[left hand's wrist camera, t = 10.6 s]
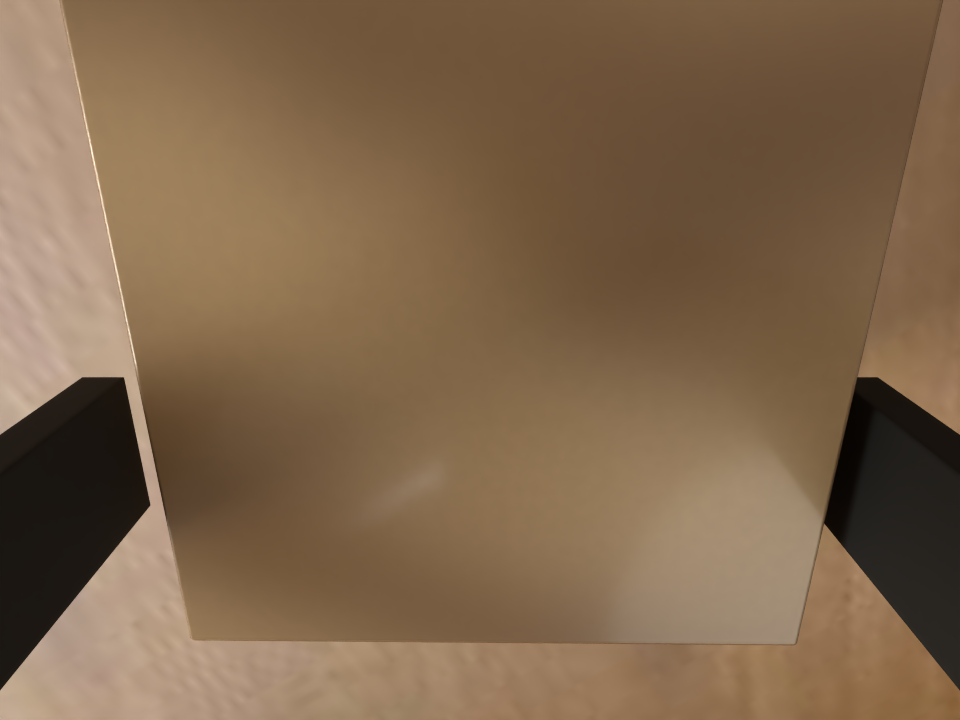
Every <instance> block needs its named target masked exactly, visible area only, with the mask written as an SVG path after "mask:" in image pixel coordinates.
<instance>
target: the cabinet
mask: <svg viewBox="0 0 960 720" xmlns="http://www.w3.org/2000/svg"><path fill="white" fill-rule="evenodd" d="M59 1H60V6H61V11H62V15H63V20H64V25H65V30H66V35H67V40H68V45H69V49H70V54H71V59H72V64H73V69H74V74H75V79H76V83H77V88H78V93H79V98H80V103H81V108H82V113H83V117H84V122H85V127H86V132H87V137H88V142H89V147H90V151H91V156H92V161H93V166H94V171H95V176H96V181H97V185H98V190H99V195H100V200H101V205H102V210H103V215H104V220H105V224H106V229H107V234H108V239H109V244H110V249H111V254H112V258H113V263H114V268H115V273H116V278H117V283H118V288H119V292H120V297H121V302H122V307H123V312H124V317H125V322H126V326H127V331H128V336H129V341H130V346H131V351H132V356H133V360H134V365H135V370H136V375H137V380H138V385H139V390H140V394H141V399H142V404H143V409H144V414H145V419H146V424H147V428H148V433H149V438H150V443H151V448H152V453H153V458H154V462H155V467H156V472H157V477H158V482H159V487H160V492H161V496H162V501H163V506H164V511H165V516H166V521H167V526H168V530H169V535H170V540H171V545H172V550H173V555H174V560H175V565H176V569H177V574H178V579H179V584H180V589H181V594H182V599H183V603H184V608H185V613H186V618H187V623H188V628H189V633H190V637H191V639H192V640H225V641H345V642H465V643H586V644H706V645H795V644H796V643H797V640H798V636H799V631H800V627H801V622H802V618H803V614H804V609H805V605H806V600H807V596H808V592H809V587H810V583H811V578H812V574H813V570H814V565H815V561H816V556H817V552H818V548H819V543H820V539H821V534H822V530H823V526H824V521H825V517H826V512H827V508H828V504H829V499H830V495H831V490H832V486H833V482H834V477H835V473H836V468H837V464H838V460H839V455H840V451H841V446H842V442H843V438H844V433H845V429H846V425H847V420H848V416H849V411H850V407H851V403H852V398H853V394H854V389H855V385H856V381H857V376H858V372H859V367H860V363H861V359H862V354H863V350H864V345H865V341H866V337H867V332H868V328H869V323H870V319H871V315H872V310H873V306H874V301H875V297H876V293H877V288H878V284H879V279H880V275H881V271H882V266H883V262H884V257H885V253H886V249H887V244H888V240H889V235H890V231H891V227H892V222H893V218H894V214H895V209H896V205H897V200H898V196H899V192H900V187H901V183H902V178H903V174H904V170H905V165H906V161H907V156H908V152H909V148H910V143H911V139H912V134H913V130H914V126H915V121H916V117H917V112H918V108H919V104H920V99H921V95H922V90H923V86H924V82H925V77H926V73H927V68H928V64H929V60H930V55H931V51H932V46H933V42H934V38H935V33H936V29H937V24H938V20H939V16H940V11H941V7H942V2H943V0H59Z"/></svg>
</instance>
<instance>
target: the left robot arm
mask: <svg viewBox="0 0 960 720" xmlns="http://www.w3.org/2000/svg"><path fill="white" fill-rule="evenodd" d="M149 506H150V501H149V496H148V491H147V486H146V482H145V477H144V472H143V467H142V462H141V457H140V453H139V448H138V443H137V438H136V433H135V428H134V424H133V419H132V414H131V409H130V404H129V399H128V395H127V390H126V385H125V380H124V377H82V378H81V379H79V380H78V381H77V382H75V383H74V384H72V385H71V386H69V387H68V388H67V389H65V390H64V391H62V392H61V393H59V394H58V395H57V396H55V397H54V398H52V399H51V400H49V401H48V402H47V403H45V404H44V405H42V406H41V407H39V408H38V409H36V410H35V411H34V412H32V413H31V414H29V415H28V416H26V417H25V418H24V419H22V420H21V421H19V422H18V423H16V424H15V425H14V426H12V427H11V428H9V429H8V430H6V431H5V432H4V433H2V434H1V435H0V690H1V689H2V687H3V686H4V685H5V684H6V682H7V681H8V680H9V679H10V678H11V676H12V675H13V674H14V673H15V671H16V670H17V669H18V668H19V666H20V665H21V664H22V663H23V662H24V660H25V659H26V658H27V657H28V655H29V654H30V653H31V652H32V650H33V649H34V648H35V647H36V646H37V644H38V643H39V642H40V641H41V639H42V638H43V637H44V636H45V634H46V633H47V632H48V631H49V630H50V628H51V627H52V626H53V625H54V623H55V622H56V621H57V620H58V618H59V617H60V616H61V615H62V614H63V612H64V611H65V610H66V609H67V607H68V606H69V605H70V604H71V602H72V601H73V600H74V599H75V598H76V596H77V595H78V594H79V593H80V591H81V590H82V589H83V588H84V586H85V585H86V584H87V583H88V581H89V580H90V579H91V578H92V577H93V575H94V574H95V573H96V572H97V570H98V569H99V568H100V567H101V565H102V564H103V563H104V562H105V561H106V559H107V558H108V557H109V556H110V554H111V553H112V552H113V551H114V549H115V548H116V547H117V546H118V545H119V543H120V542H121V541H122V540H123V538H124V537H125V536H126V535H127V533H128V532H129V531H130V530H131V529H132V527H133V526H134V525H135V524H136V522H137V521H138V520H139V519H140V517H141V516H142V515H143V514H144V513H145V511H146V510H147V509H148V508H149ZM824 524H825V525H826V526H827V527H828V529H829V530H830V531H831V532H832V533H833V535H834V536H835V537H836V538H837V540H838V541H839V542H840V543H841V545H842V546H843V547H844V548H845V549H846V551H847V552H848V553H849V554H850V556H851V557H852V558H853V559H854V561H855V562H856V563H857V564H858V565H859V567H860V568H861V569H862V570H863V572H864V573H865V574H866V575H867V577H868V578H869V579H870V580H871V581H872V583H873V584H874V585H875V586H876V588H877V589H878V590H879V591H880V593H881V594H882V595H883V596H884V598H885V599H886V600H887V601H888V602H889V604H890V605H891V606H892V607H893V609H894V610H895V611H896V612H897V614H898V615H899V616H900V617H901V618H902V620H903V621H904V622H905V623H906V625H907V626H908V627H909V628H910V630H911V631H912V632H913V633H914V634H915V636H916V637H917V638H918V639H919V641H920V642H921V643H922V644H923V646H924V647H925V648H926V649H927V650H928V652H929V653H930V654H931V655H932V657H933V658H934V659H935V660H936V662H937V663H938V664H939V665H940V666H941V668H942V669H943V670H944V671H945V673H946V674H947V675H948V676H949V678H950V679H951V680H952V681H953V682H954V684H955V685H956V686H957V687H958V689H959V690H960V435H959V434H958V433H956V432H955V431H954V430H952V429H951V428H949V427H948V426H946V425H945V424H944V423H942V422H941V421H939V420H938V419H936V418H935V417H934V416H932V415H931V414H929V413H928V412H926V411H925V410H924V409H922V408H921V407H919V406H918V405H916V404H915V403H913V402H912V401H911V400H909V399H908V398H906V397H905V396H903V395H902V394H901V393H899V392H898V391H896V390H895V389H893V388H892V387H891V386H889V385H888V384H886V383H885V382H883V381H882V380H881V379H879V378H878V377H857V381H856V385H855V389H854V394H853V398H852V403H851V407H850V411H849V416H848V420H847V425H846V429H845V433H844V438H843V442H842V446H841V451H840V455H839V460H838V464H837V468H836V473H835V477H834V482H833V486H832V490H831V495H830V499H829V504H828V508H827V512H826V517H825V521H824Z"/></svg>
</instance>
